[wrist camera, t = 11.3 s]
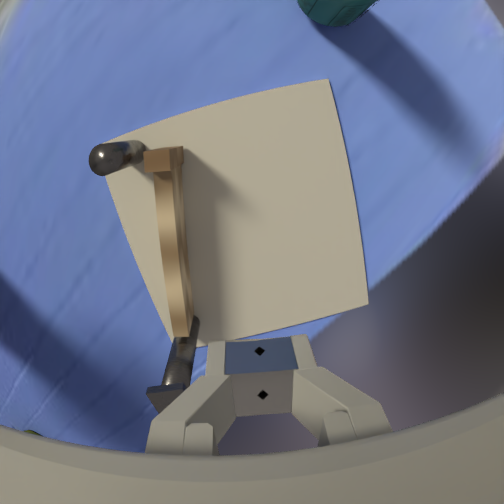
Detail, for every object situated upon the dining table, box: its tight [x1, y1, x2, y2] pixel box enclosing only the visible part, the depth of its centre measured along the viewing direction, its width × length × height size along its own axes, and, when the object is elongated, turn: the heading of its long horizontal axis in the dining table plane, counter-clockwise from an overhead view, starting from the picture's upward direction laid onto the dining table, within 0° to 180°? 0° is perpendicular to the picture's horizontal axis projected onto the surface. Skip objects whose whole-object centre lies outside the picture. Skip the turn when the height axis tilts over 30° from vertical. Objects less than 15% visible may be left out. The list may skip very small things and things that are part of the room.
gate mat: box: [102, 79, 368, 347], centre depth 31 cm, size 23×24×1 cm
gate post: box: [146, 315, 200, 414], centre depth 29 cm, size 3×3×13 cm
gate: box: [143, 146, 194, 337], centre depth 28 cm, size 17×2×6 cm, turn 1°
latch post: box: [89, 140, 146, 176], centre depth 25 cm, size 2×2×8 cm
